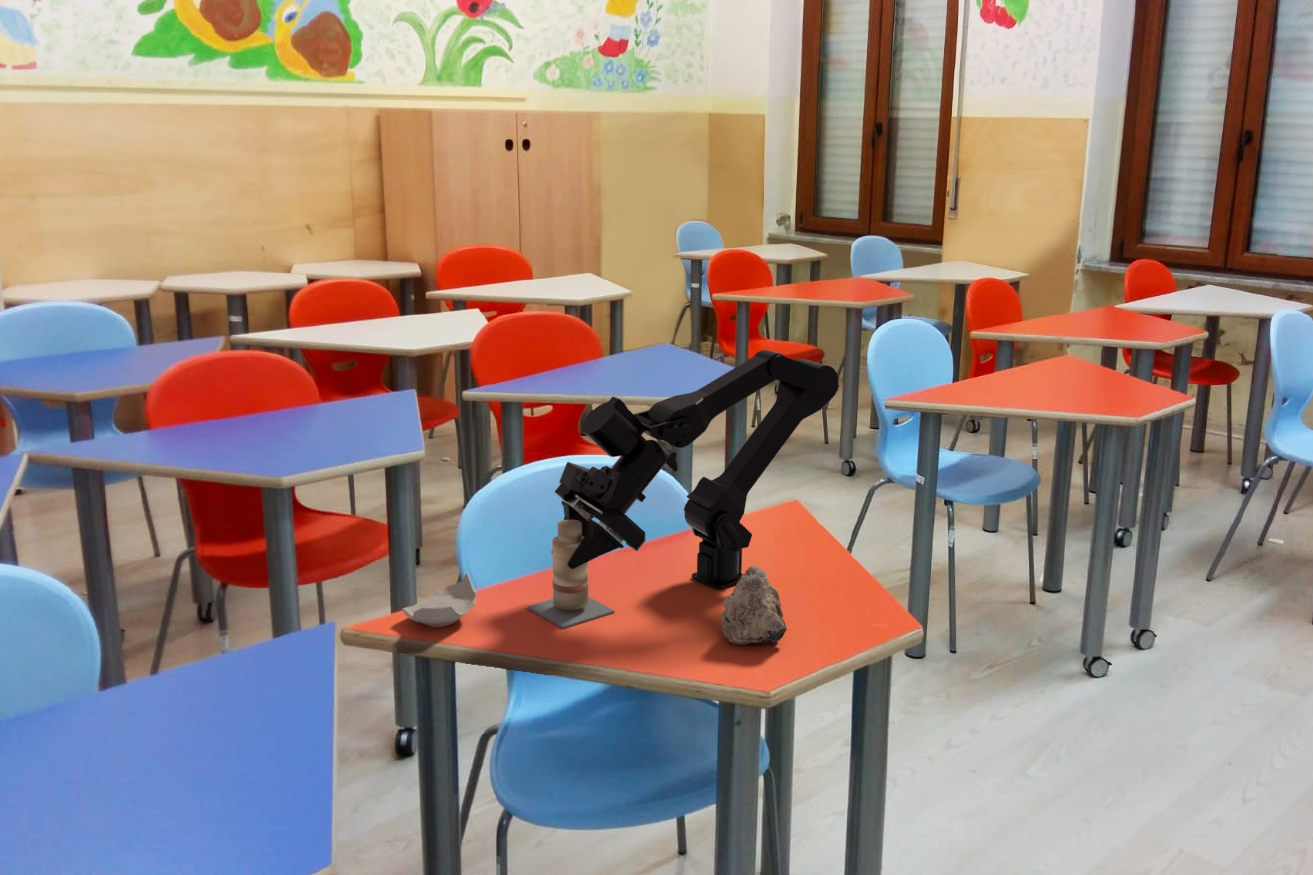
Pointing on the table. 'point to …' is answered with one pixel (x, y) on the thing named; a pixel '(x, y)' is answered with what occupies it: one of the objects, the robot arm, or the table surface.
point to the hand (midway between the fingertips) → (561, 561)
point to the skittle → (568, 568)
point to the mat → (570, 612)
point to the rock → (753, 611)
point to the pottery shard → (444, 605)
